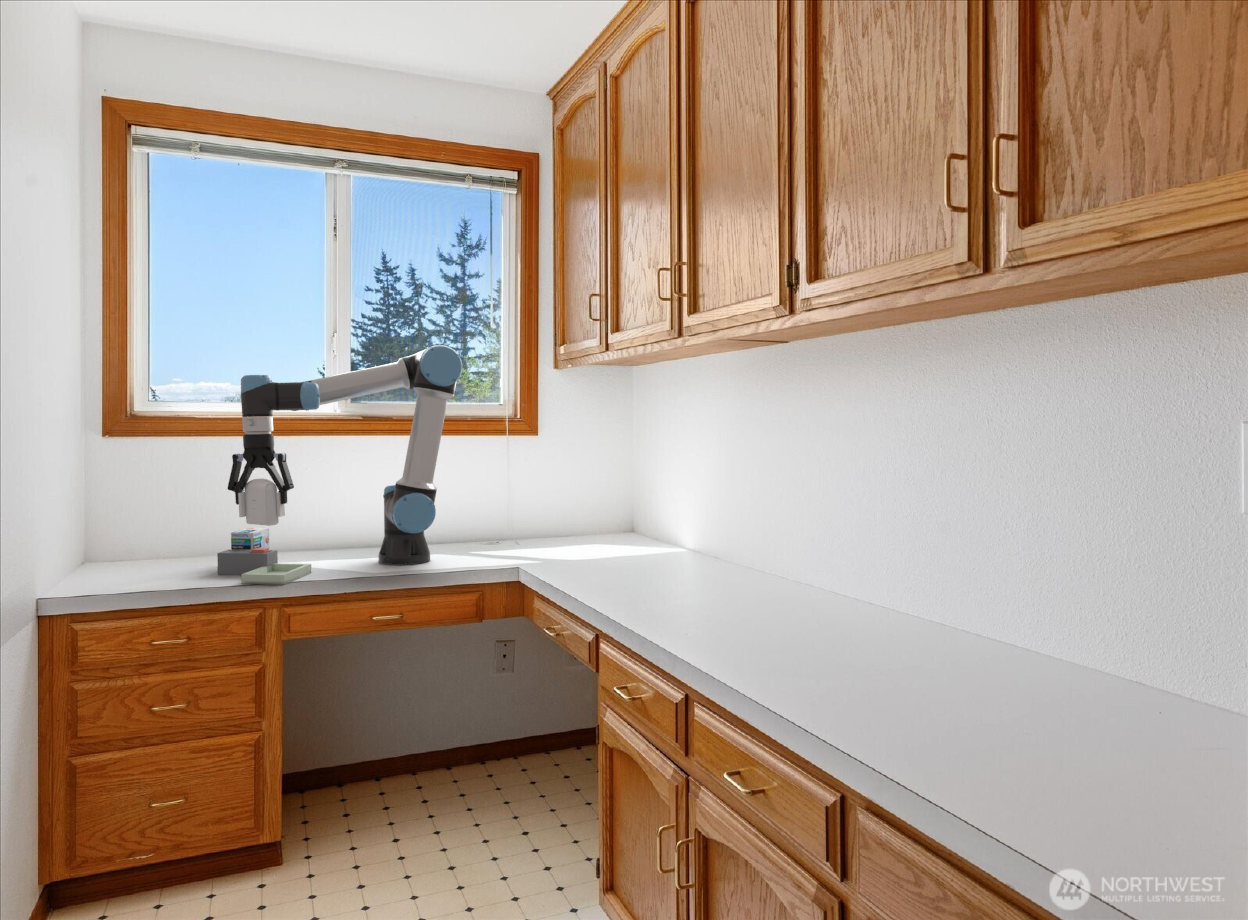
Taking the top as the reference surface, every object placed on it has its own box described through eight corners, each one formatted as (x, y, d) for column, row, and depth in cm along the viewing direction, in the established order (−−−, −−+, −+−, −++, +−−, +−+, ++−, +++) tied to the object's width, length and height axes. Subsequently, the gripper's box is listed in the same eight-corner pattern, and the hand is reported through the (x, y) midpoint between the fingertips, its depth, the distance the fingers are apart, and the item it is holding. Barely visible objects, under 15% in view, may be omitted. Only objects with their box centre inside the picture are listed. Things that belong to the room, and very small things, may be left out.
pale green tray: (311, 572, 234) (311, 563, 234) (284, 584, 217) (284, 574, 217) (271, 572, 234) (271, 563, 234) (241, 583, 218) (241, 574, 218)
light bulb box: (254, 570, 237) (253, 532, 237) (230, 570, 237) (229, 532, 237) (270, 563, 248) (270, 527, 247) (248, 563, 248) (247, 527, 247)
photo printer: (243, 524, 226) (241, 478, 225) (258, 522, 229) (256, 477, 229) (266, 526, 220) (264, 479, 219) (281, 524, 224) (279, 478, 223)
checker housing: (277, 571, 236) (277, 550, 235) (267, 575, 230) (267, 553, 229) (229, 570, 236) (228, 549, 236) (217, 574, 230) (217, 552, 230)
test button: (269, 565, 234) (268, 547, 234) (263, 567, 231) (263, 549, 231) (257, 565, 234) (256, 547, 234) (251, 567, 231) (251, 549, 231)
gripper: (209, 434, 220) (214, 518, 222) (292, 432, 219) (296, 517, 220) (225, 433, 228) (229, 515, 229) (305, 432, 226) (309, 514, 228)
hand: (262, 516), depth 225 cm, fingers closed on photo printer, 10 cm apart
